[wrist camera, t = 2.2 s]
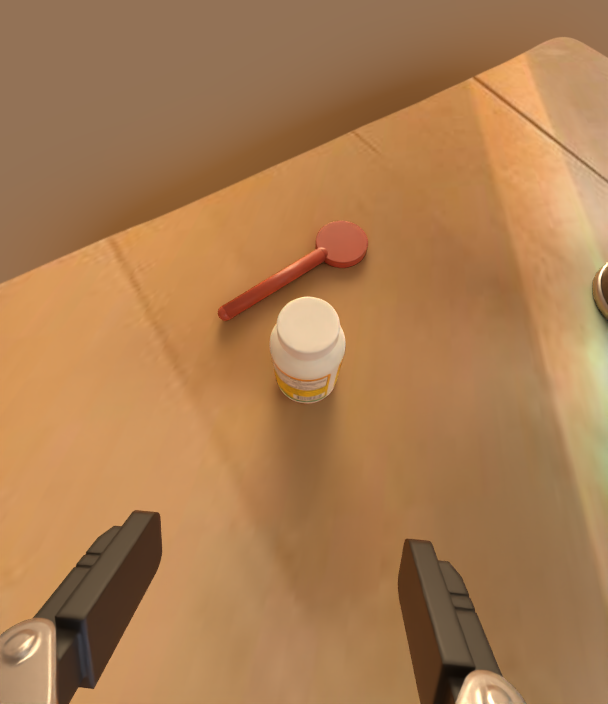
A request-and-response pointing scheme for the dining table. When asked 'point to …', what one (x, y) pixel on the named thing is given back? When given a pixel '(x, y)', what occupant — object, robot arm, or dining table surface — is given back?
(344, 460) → the dining table surface
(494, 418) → the dining table surface
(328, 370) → the supplement bottle
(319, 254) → the red spoon
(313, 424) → the dining table surface
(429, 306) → the dining table surface
